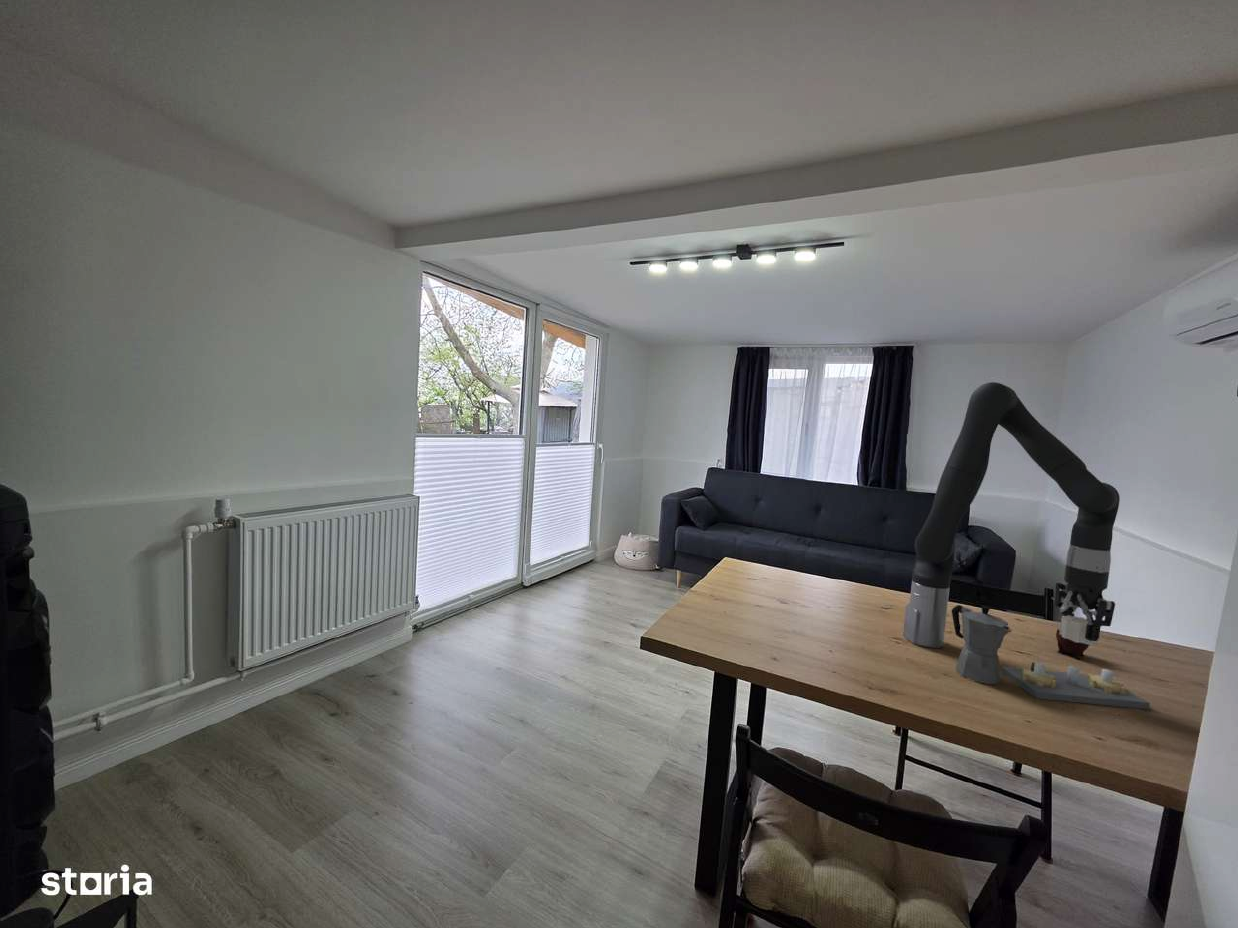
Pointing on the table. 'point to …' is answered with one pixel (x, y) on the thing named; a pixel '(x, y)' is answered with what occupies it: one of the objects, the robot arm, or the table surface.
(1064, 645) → the mate gourd
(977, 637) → the coffeepot
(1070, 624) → the ivory gear
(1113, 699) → the gear board
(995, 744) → the table surface
